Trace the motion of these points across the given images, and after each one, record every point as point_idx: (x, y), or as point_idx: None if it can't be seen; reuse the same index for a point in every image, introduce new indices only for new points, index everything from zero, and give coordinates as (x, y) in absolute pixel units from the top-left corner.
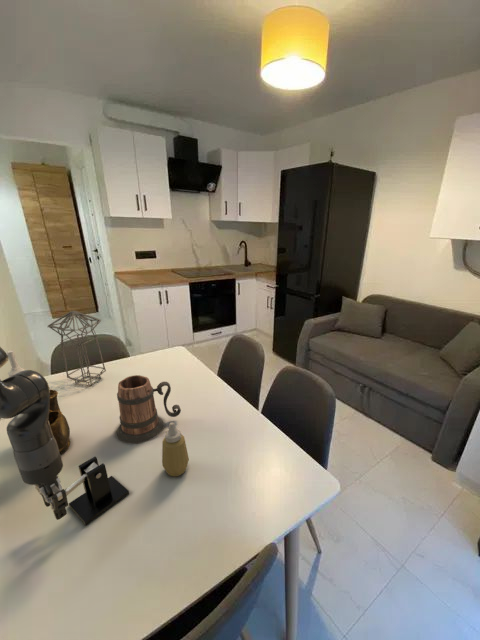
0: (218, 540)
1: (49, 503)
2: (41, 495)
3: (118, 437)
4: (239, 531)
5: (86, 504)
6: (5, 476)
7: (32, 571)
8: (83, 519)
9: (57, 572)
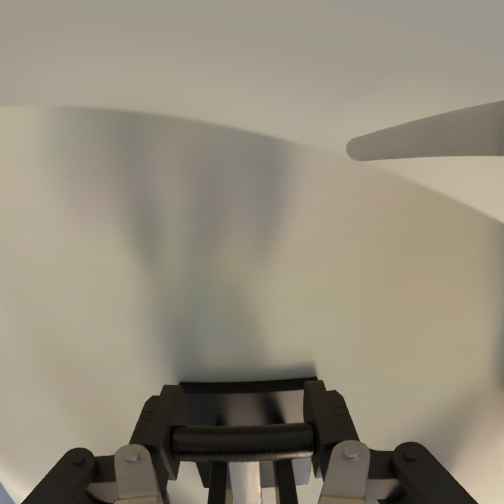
0: (3, 451)
1: (259, 430)
2: (336, 446)
3: None
4: (7, 467)
5: (256, 422)
6: None
7: (127, 194)
8: (193, 395)
9: (68, 253)
